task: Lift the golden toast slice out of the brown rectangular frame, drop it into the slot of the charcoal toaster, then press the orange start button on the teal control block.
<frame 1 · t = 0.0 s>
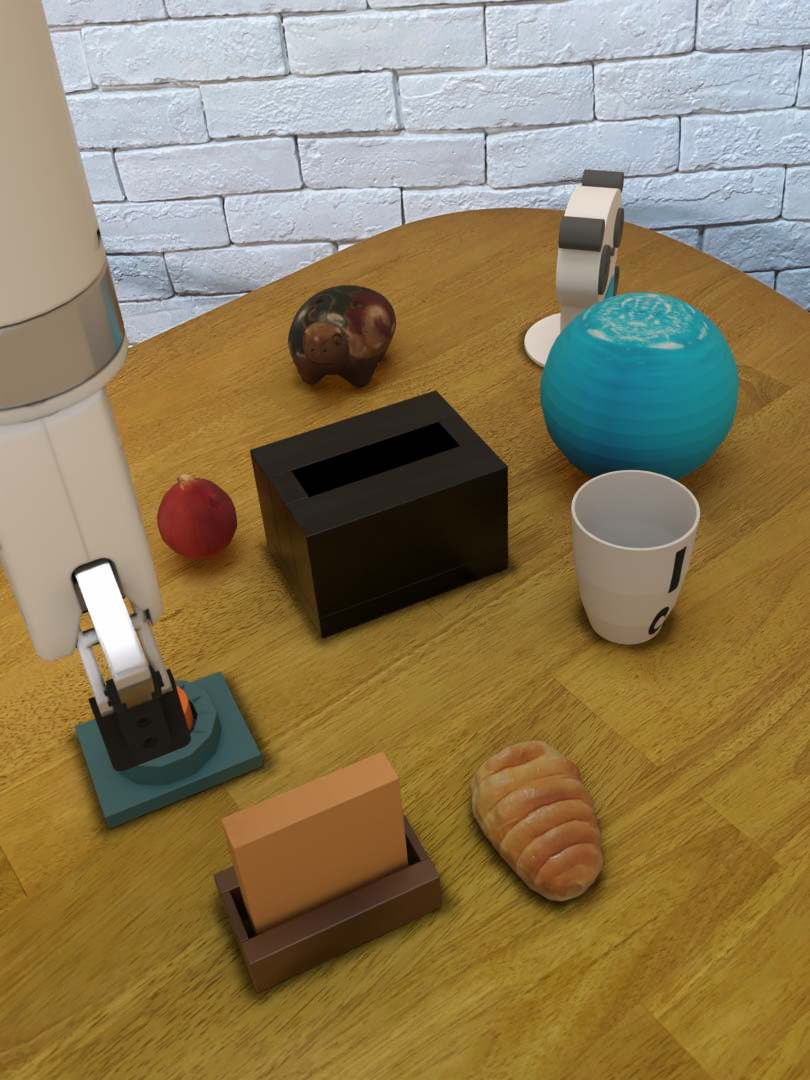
hand: (121, 674, 49), 21 cm above the table, tool pointing down, fingers open, 9 cm apart
pastry: (540, 828, 67), on the table
brown rectangular frame: (331, 905, 64), on the table
onion: (206, 558, 87), on the table
decorative orb: (630, 471, 92), on the table
cup: (624, 620, 79), on the table
brown mottled ceramic figure: (346, 370, 106), on the table
start button: (158, 716, 70), point 3 cm above the table, slide at 0.1 cm
toast: (321, 854, 60), in the brown rectangular frame
toaster: (385, 558, 85), on the table
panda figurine: (584, 347, 106), on the table
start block: (169, 751, 73), on the table
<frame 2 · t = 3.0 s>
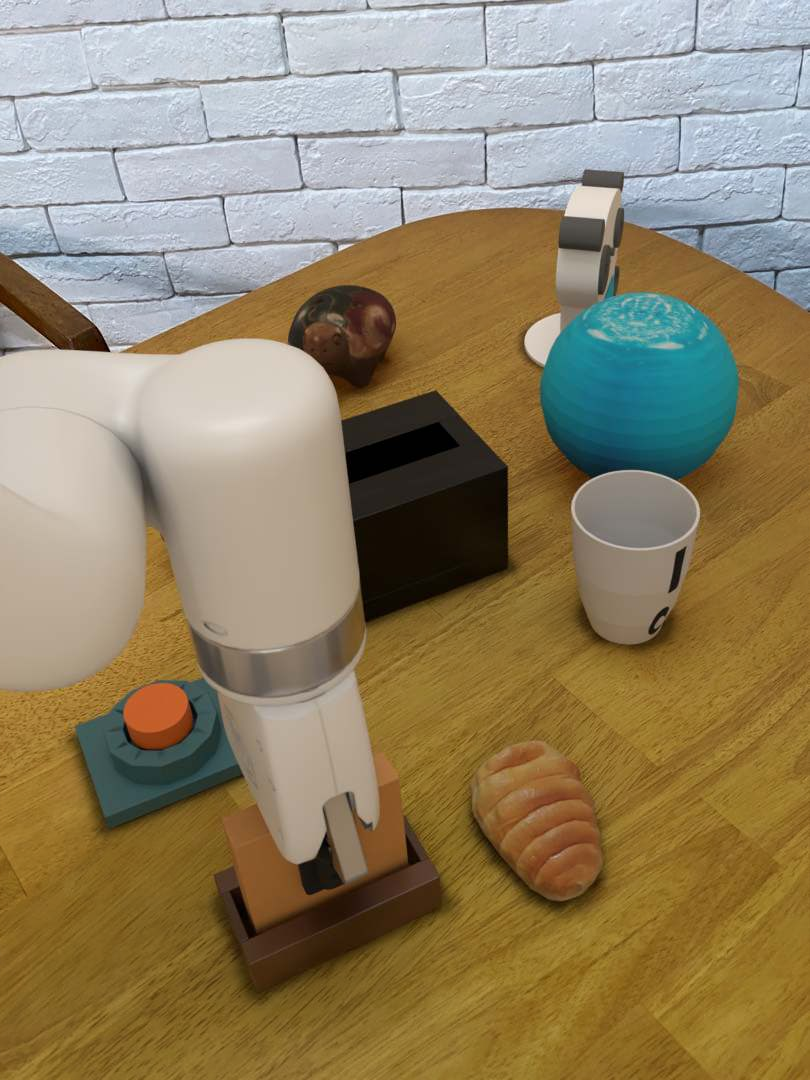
hand: (322, 859, 61), 5 cm above the table, tool pointing down, fingers closed on toast, 2 cm apart
toast: (321, 854, 60), in the brown rectangular frame, touching gripper
everything else where it was.
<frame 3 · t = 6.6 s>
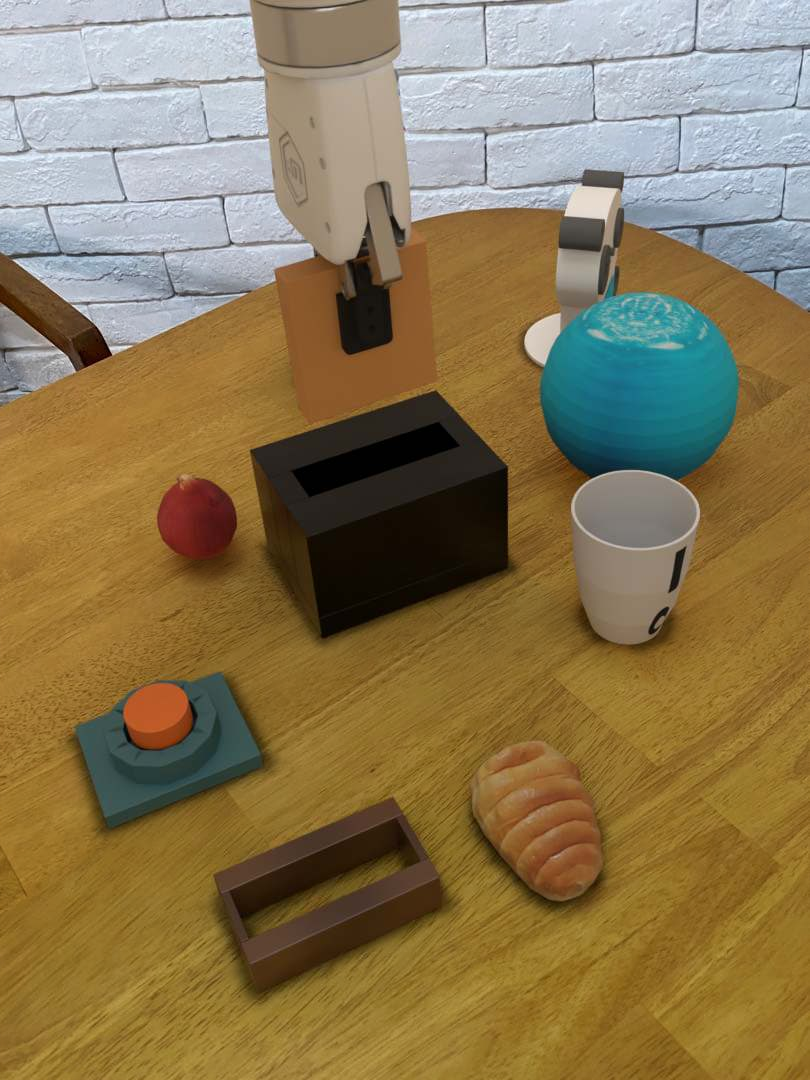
hand: (358, 335, 70), 21 cm above the table, tool pointing down, fingers closed on toast, 2 cm apart
toast: (359, 328, 70), point 21 cm above the table, touching gripper
everything else where it was.
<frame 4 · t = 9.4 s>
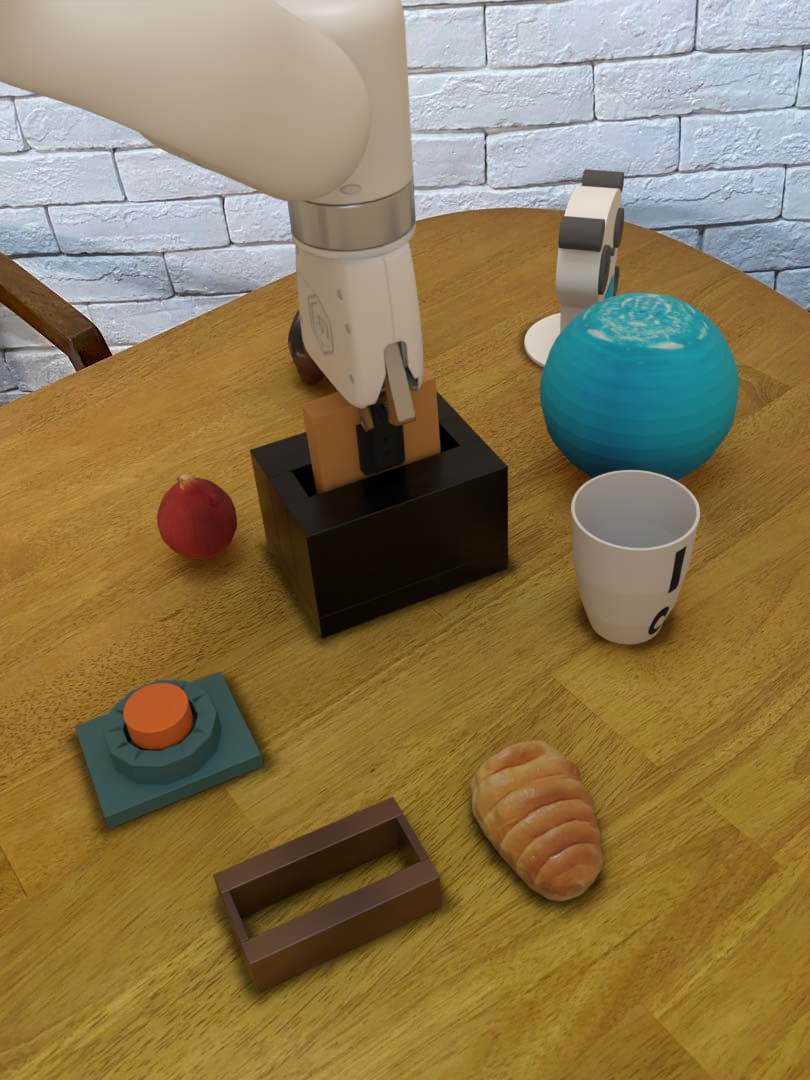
hand: (374, 455, 79), 10 cm above the table, tool pointing down, fingers closed on toast, 2 cm apart
toast: (376, 450, 79), point 10 cm above the table, touching gripper
everything else where it was.
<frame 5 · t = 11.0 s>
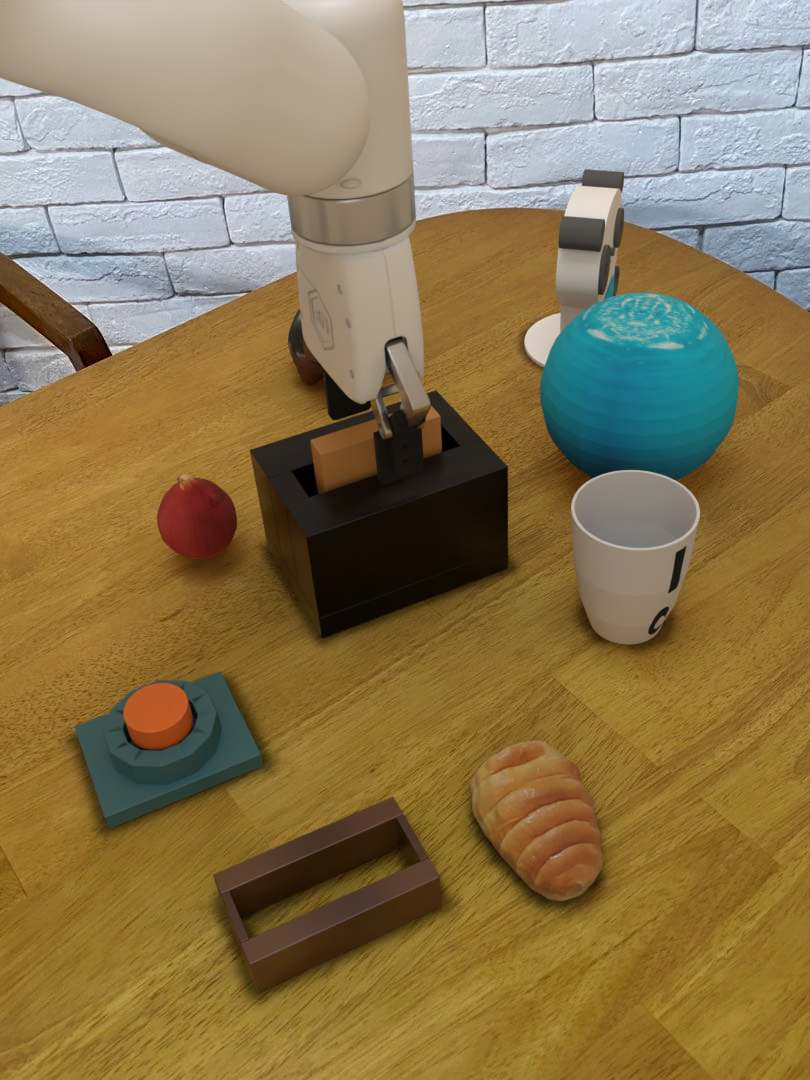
hand: (374, 442, 78), 11 cm above the table, tool pointing down, fingers open, 7 cm apart
toast: (381, 484, 81), in the toaster, point 7 cm above the table
everything else where it was.
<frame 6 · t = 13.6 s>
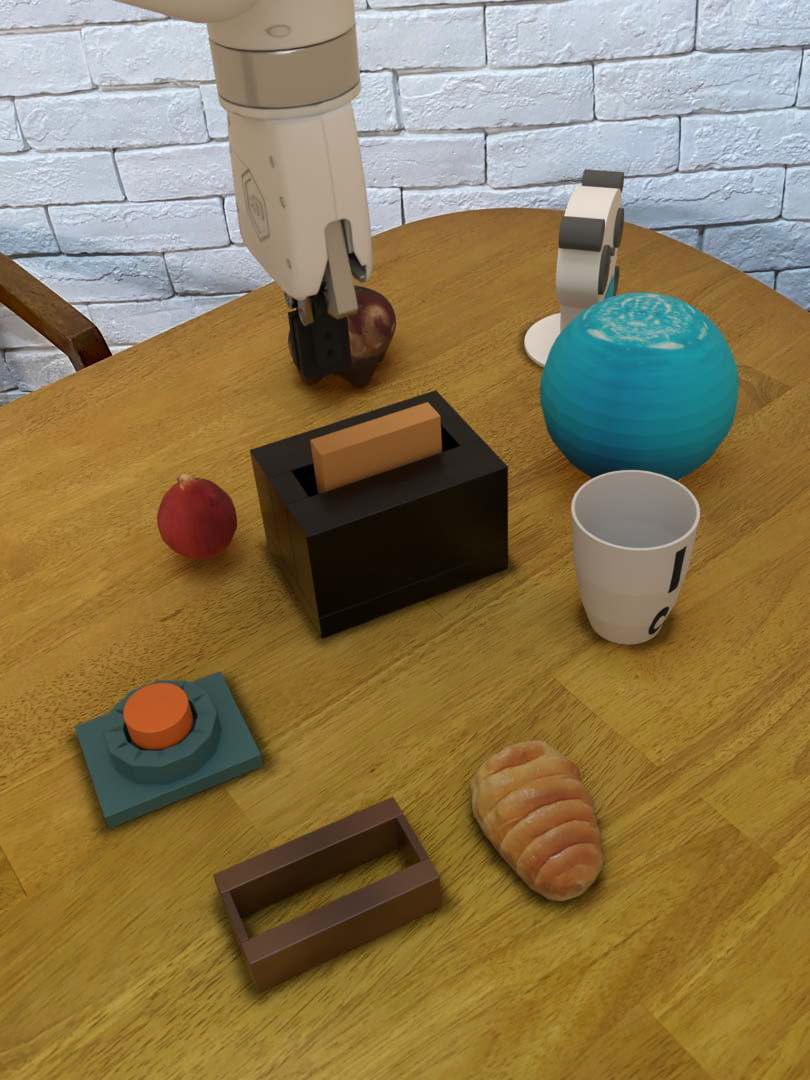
hand: (323, 367, 70), 19 cm above the table, tool pointing down, fingers closed
nothing on the table moved.
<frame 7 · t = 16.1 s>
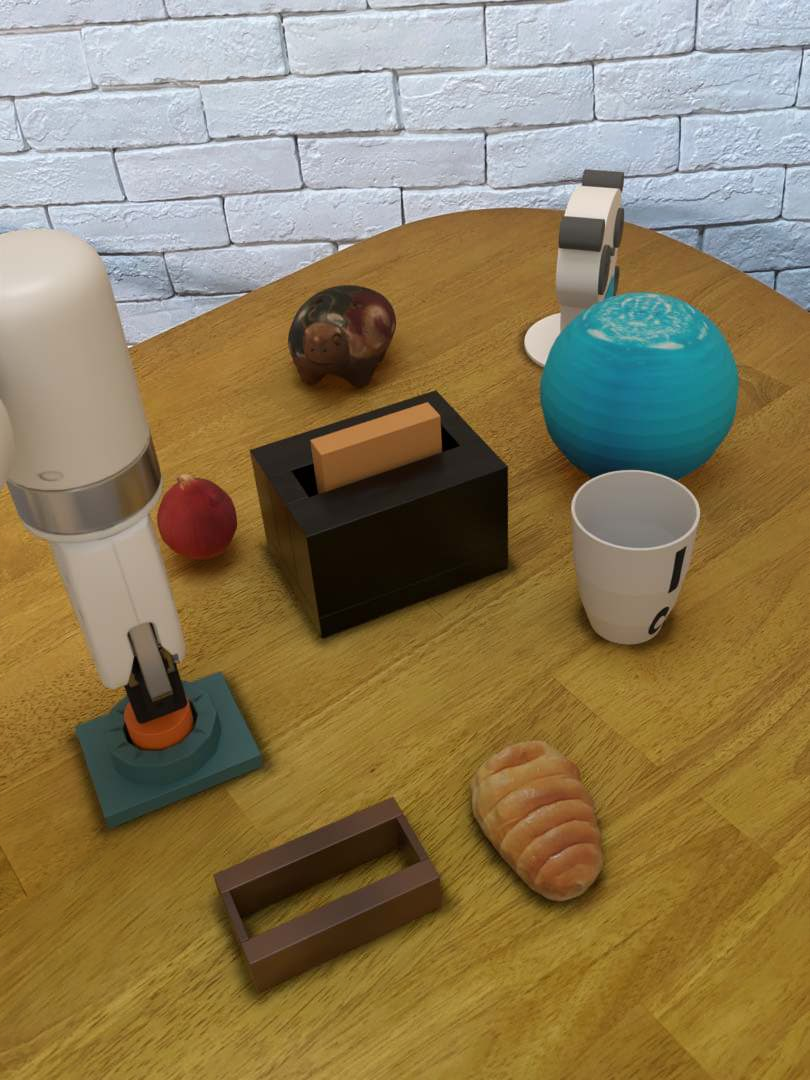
hand: (160, 706, 70), 4 cm above the table, tool pointing down, fingers closed
start button: (159, 718, 70), point 3 cm above the table, slide at -0.1 cm, touching gripper
everything else where it was.
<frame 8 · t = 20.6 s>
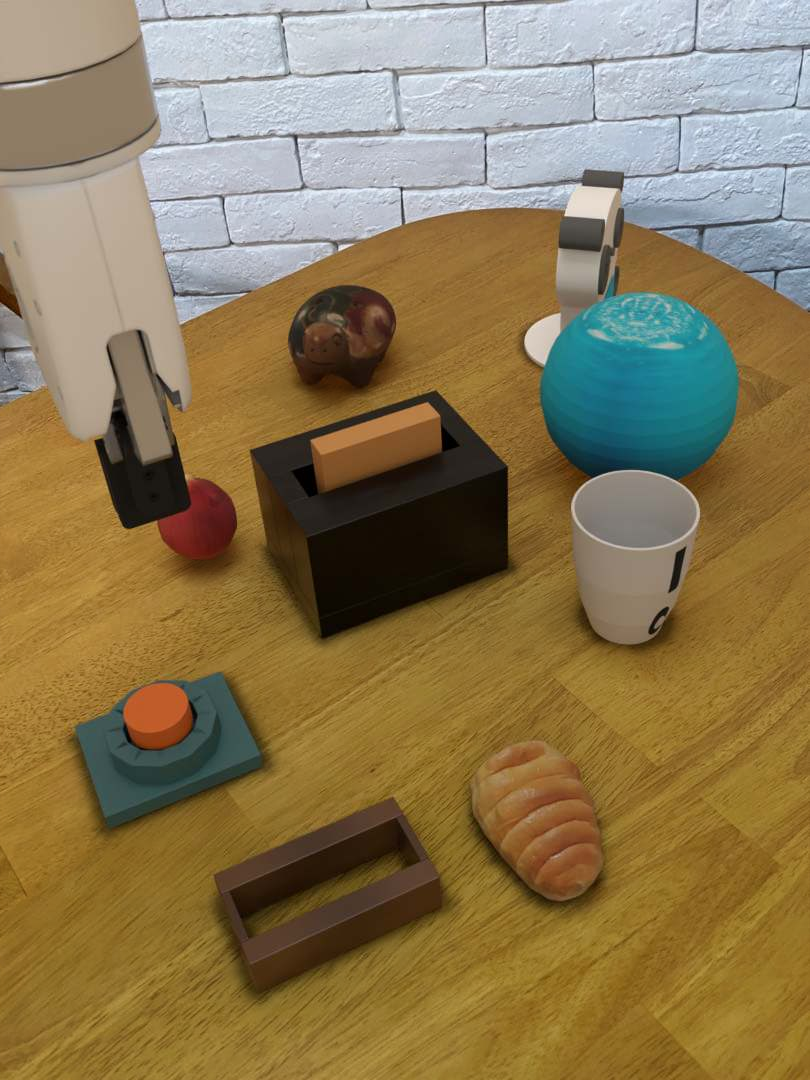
hand: (153, 509, 51), 25 cm above the table, tool pointing down, fingers closed
start button: (158, 716, 70), point 3 cm above the table, slide at 0.1 cm
everything else where it was.
at the end: toast 0.2 cm off-centre on the toaster, point 7.0 cm above the toaster's base; start button pushed in 1.1 cm at the most during the clip, back to where it started at the end; start button slide at 0.1 cm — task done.
